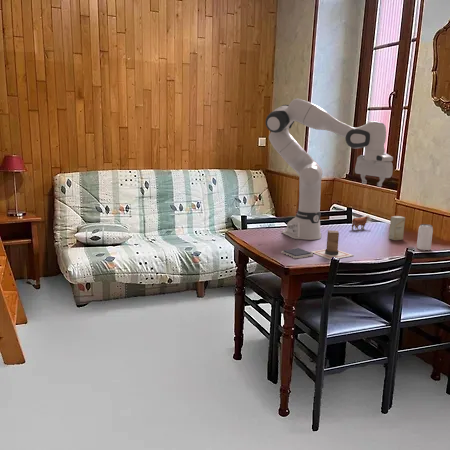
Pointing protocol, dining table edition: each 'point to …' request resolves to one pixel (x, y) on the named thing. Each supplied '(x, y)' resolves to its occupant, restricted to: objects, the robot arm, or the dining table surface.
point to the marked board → (323, 254)
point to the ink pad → (297, 253)
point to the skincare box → (396, 228)
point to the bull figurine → (360, 222)
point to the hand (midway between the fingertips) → (371, 185)
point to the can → (424, 237)
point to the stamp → (332, 242)
